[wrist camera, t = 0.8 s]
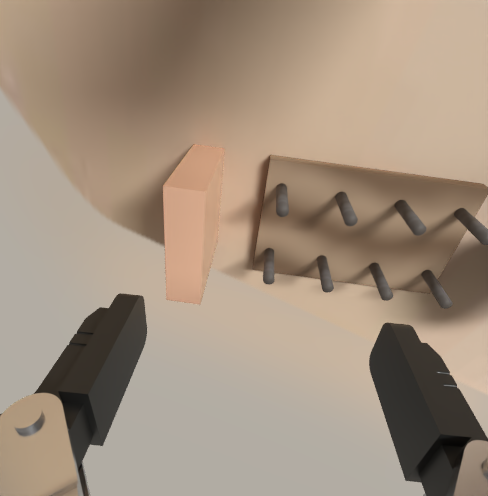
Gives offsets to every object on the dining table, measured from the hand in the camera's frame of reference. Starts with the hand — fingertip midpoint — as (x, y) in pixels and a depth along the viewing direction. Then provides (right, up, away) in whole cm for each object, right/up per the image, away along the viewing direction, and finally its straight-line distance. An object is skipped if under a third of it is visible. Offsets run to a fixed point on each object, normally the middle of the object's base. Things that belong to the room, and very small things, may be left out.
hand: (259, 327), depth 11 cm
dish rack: (+11, +5, +21) cm, 24 cm away
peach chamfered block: (-4, +8, +20) cm, 22 cm away
